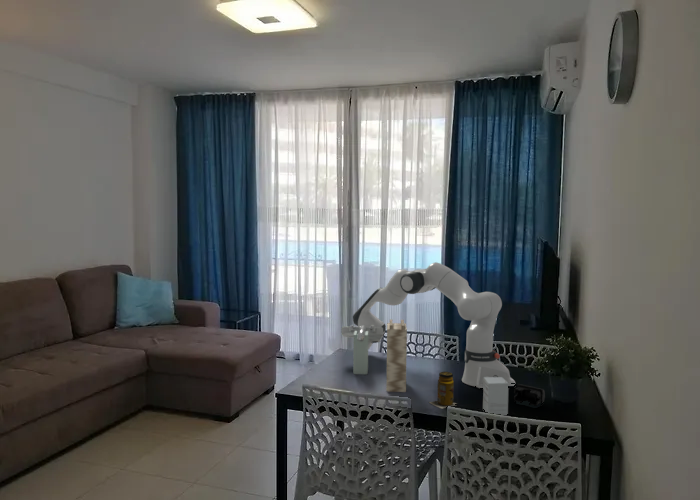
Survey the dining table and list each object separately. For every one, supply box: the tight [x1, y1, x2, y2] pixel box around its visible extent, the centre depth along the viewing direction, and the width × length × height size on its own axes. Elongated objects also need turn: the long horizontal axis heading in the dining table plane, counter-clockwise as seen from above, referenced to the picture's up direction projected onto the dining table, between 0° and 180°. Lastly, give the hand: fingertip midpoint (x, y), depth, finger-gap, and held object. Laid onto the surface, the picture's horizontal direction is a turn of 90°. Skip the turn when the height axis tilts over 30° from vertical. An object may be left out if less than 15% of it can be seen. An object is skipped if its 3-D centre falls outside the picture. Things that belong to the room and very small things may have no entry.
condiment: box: [428, 371, 457, 409], centre depth 202 cm, size 7×8×12 cm
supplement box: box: [482, 377, 509, 415], centre depth 193 cm, size 7×7×13 cm
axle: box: [357, 325, 366, 342], centre depth 242 cm, size 20×3×3 cm, turn 176°
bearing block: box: [385, 319, 408, 393], centre depth 221 cm, size 8×12×28 cm, turn 176°
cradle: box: [352, 331, 369, 375], centre depth 242 cm, size 6×8×18 cm
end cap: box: [513, 383, 546, 406], centre depth 203 cm, size 10×7×7 cm
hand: (361, 327), depth 248 cm, fingers open, 8 cm apart
